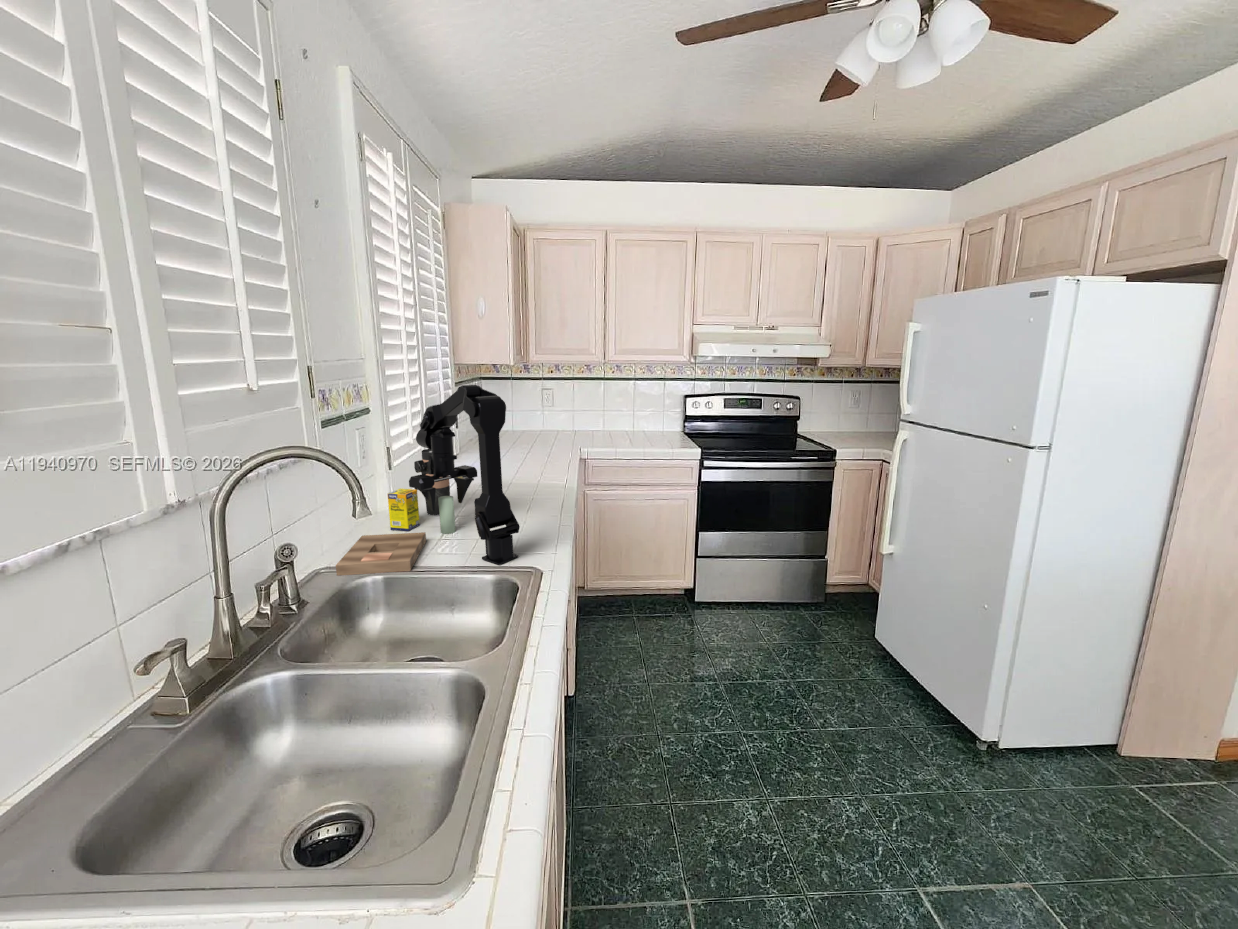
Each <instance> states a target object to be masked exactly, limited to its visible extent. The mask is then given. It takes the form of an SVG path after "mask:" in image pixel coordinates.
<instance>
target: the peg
mask: <svg viewBox="0 0 1238 929" xmlns="http://www.w3.org/2000/svg"><path fill="white" fill-rule="evenodd" d="M438 501H439V515H438V516H439V525H440V534H443V535H450V534H454V533H455V532H456V519H455V518H456V516H455V501H454V496H452V495H450V496H442V497H439V498H438Z"/></svg>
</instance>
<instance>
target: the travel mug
mask: <svg viewBox="0 0 1238 929" xmlns="http://www.w3.org/2000/svg"><path fill="white" fill-rule="evenodd" d="M431 455H432V450H431V449H428V448H425V449H422V450H421V460H423V461H424V462H428V461H429V456H431ZM426 475H428V476H433V474H432V475H430V474H426ZM439 478H442V477H439ZM434 483H435V484H434V486H433V488H436V493H435V509H434V511H431V510H430V508H429V506H428V503H427V501H426V499H425V498H424V499H425V507H426V513H428V514H427V515H429V514H430V516H440V515H439V501H438V498H439V497H442V496H451V489H450V488H451V487H450V479H447V480H443V481H439V482H434Z"/></svg>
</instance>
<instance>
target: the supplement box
mask: <svg viewBox="0 0 1238 929" xmlns="http://www.w3.org/2000/svg"><path fill="white" fill-rule="evenodd" d="M418 499H419V498H418V490H416V489H414V488H411V489H410V488H398V489H396V490H393V491H391V492H388V493H387V504H388V515H389V525H390V526H389V527H390V530H391V531H401V532H410V531H411V530H414V529H415V528H416V527H419V526H420V525H421V524H420V523H421V522H420V512H419V510H420V509H419V508H420V507H419V500H418Z"/></svg>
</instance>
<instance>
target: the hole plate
mask: <svg viewBox="0 0 1238 929" xmlns="http://www.w3.org/2000/svg"><path fill="white" fill-rule="evenodd" d="M426 542H427V536H426V532H425V531H424V532H407V533H406V532H405V533H403V532H402V533H386V534H367V535H366V534H365V535H361V537H359V538H358V539H357V541H356V542H355V543H354V544H353V545H352V547H350V549H348V551H347V552H346V553H345V554H344V556H342V558H341V559H340V560H339V561H337V563H336V564H335V572H336V576H338V577H339V576H349V575H351V576H352V575H368V574H369V575H371V574H381V573H383V574H385V573H399V572H400V573H401V572H410V571H412V569H413V566H414V564H415V563H416V561H417V560H418V557H419V556H418V555H420V553H421V551H422V549H423V548H424V546H425V545H426Z"/></svg>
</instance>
